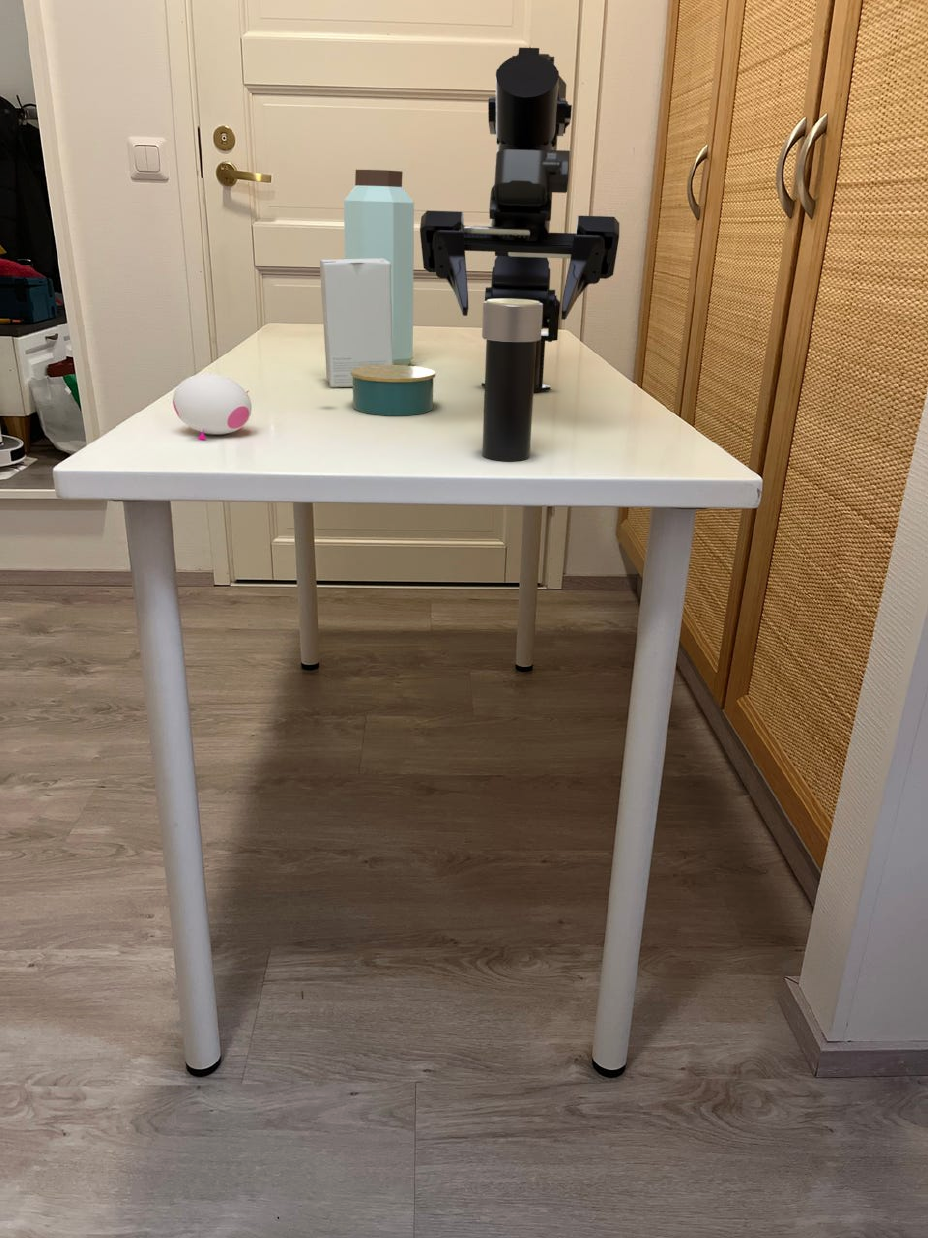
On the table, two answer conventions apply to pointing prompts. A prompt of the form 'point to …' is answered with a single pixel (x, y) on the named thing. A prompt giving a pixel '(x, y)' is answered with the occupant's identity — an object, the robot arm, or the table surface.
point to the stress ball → (212, 404)
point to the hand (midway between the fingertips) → (514, 314)
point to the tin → (392, 389)
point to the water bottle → (385, 244)
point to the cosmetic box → (356, 316)
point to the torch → (509, 376)
